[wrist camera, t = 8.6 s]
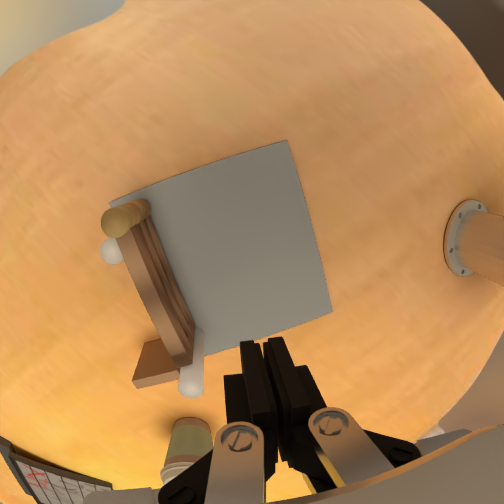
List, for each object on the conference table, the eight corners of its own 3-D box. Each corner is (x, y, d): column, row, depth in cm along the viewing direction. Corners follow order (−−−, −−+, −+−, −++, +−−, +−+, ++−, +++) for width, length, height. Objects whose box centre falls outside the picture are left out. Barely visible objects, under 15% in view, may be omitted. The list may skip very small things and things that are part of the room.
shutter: (112, 464, 49) (-1, 430, 39) (111, 486, 42) (-9, 448, 32) (118, 512, 54) (27, 488, 44) (118, 529, 47) (24, 503, 37)
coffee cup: (155, 418, 39) (146, 477, 27) (203, 405, 39) (205, 468, 27) (182, 447, 41) (180, 502, 30) (226, 436, 41) (233, 493, 30)
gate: (198, 324, 34) (195, 369, 25) (180, 329, 34) (172, 375, 25) (146, 195, 30) (122, 203, 21) (127, 203, 29) (96, 214, 21)
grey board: (286, 140, 31) (320, 125, 21) (331, 310, 37) (369, 355, 27) (86, 213, 30) (37, 231, 19) (158, 367, 36) (145, 424, 26)
